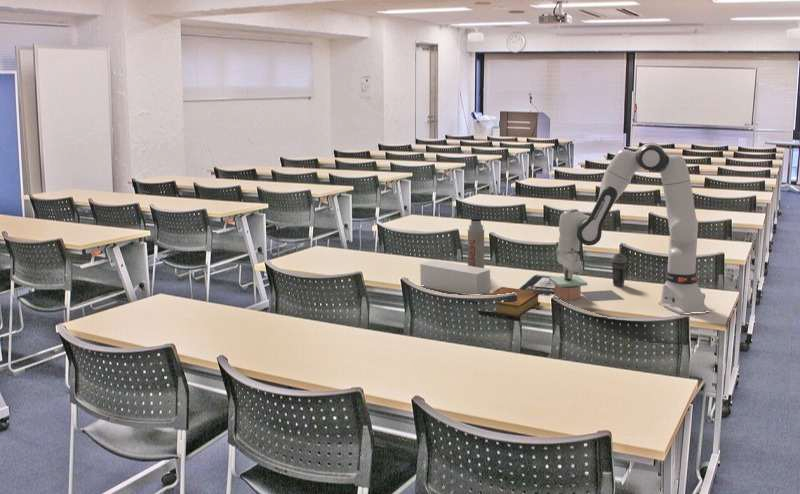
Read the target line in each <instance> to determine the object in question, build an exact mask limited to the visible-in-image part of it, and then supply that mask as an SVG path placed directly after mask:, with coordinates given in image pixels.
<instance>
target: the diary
mask: <svg viewBox="0 0 800 494" xmlns="http://www.w3.org/2000/svg"><path fill="white" fill-rule="evenodd" d="M512 292H515V293H517V301H515V302H499V303H497V304H498V305H500V306H498V311H497V312H490V313H489V314H494V315H495V314H496V315H501V316H508V317H514V318H520V317H522V316H523V315H525V314H526V313H528V312H529V311H531V310H532V309H533V308H535V307H537V306H538V305H539V304H541V302H540V301H539V296H540V295H539V294H540V292H537V291H530V290H522V289H519V288H514V287H507V286H501V287H499V288H498V289H495V290H494V291H492V292H489V294H488V295H497V294H506V293H512Z"/></svg>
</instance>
